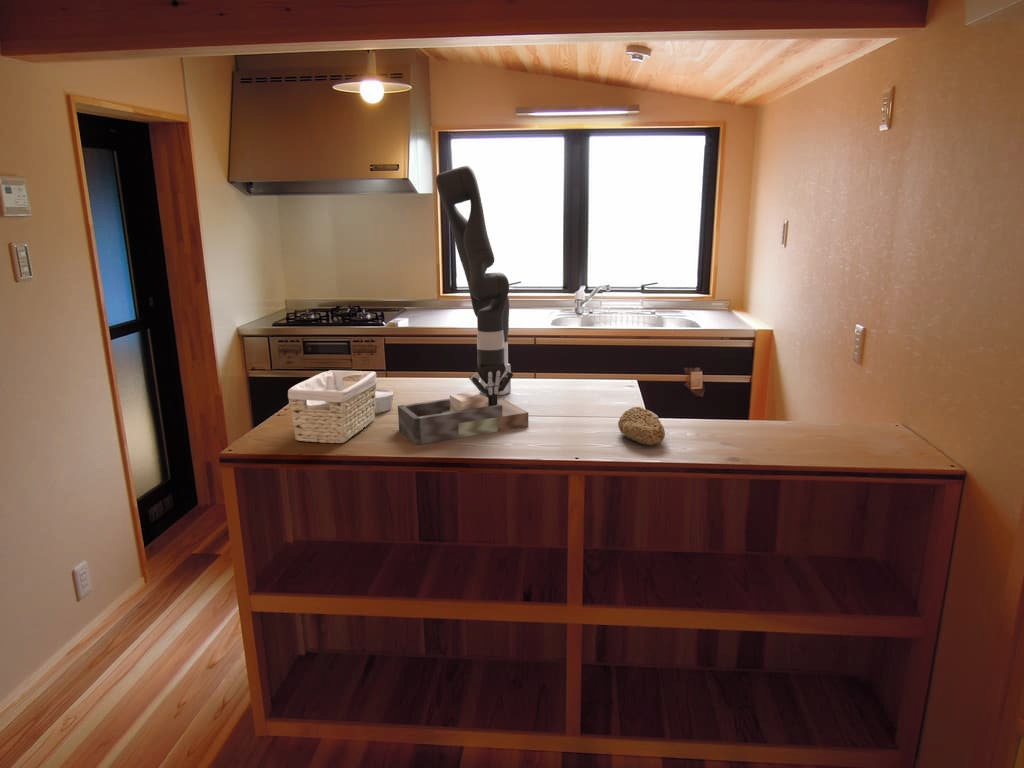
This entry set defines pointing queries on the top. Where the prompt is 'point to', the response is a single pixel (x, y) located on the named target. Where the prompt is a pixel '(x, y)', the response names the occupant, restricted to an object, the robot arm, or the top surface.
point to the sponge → (641, 426)
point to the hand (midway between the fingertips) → (491, 406)
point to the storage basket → (332, 406)
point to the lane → (456, 420)
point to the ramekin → (383, 400)
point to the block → (467, 401)
